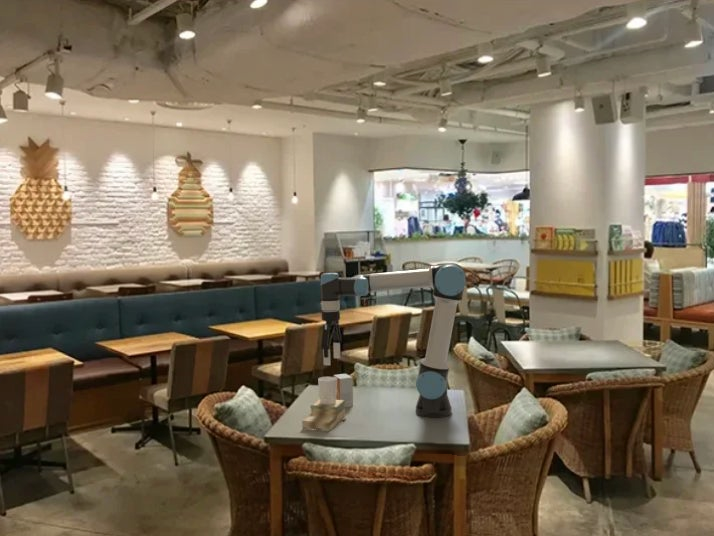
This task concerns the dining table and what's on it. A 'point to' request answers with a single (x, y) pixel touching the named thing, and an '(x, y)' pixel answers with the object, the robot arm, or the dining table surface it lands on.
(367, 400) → the dining table surface
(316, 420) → the riser
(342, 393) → the small box
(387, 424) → the dining table surface
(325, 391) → the white cup
